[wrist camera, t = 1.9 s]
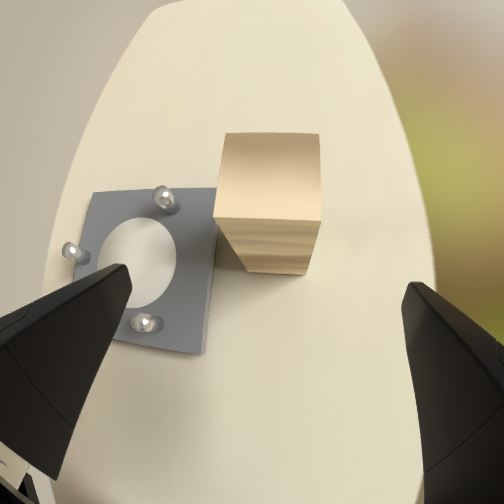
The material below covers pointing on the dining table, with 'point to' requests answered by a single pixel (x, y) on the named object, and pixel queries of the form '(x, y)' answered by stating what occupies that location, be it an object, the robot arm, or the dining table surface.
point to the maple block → (270, 199)
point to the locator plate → (155, 261)
